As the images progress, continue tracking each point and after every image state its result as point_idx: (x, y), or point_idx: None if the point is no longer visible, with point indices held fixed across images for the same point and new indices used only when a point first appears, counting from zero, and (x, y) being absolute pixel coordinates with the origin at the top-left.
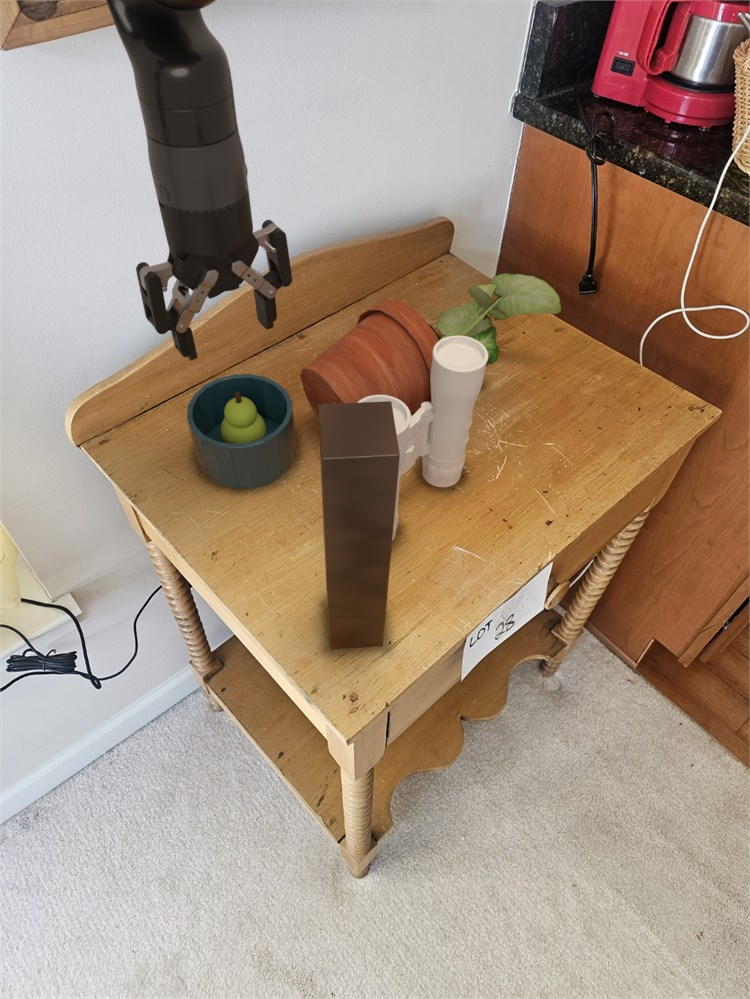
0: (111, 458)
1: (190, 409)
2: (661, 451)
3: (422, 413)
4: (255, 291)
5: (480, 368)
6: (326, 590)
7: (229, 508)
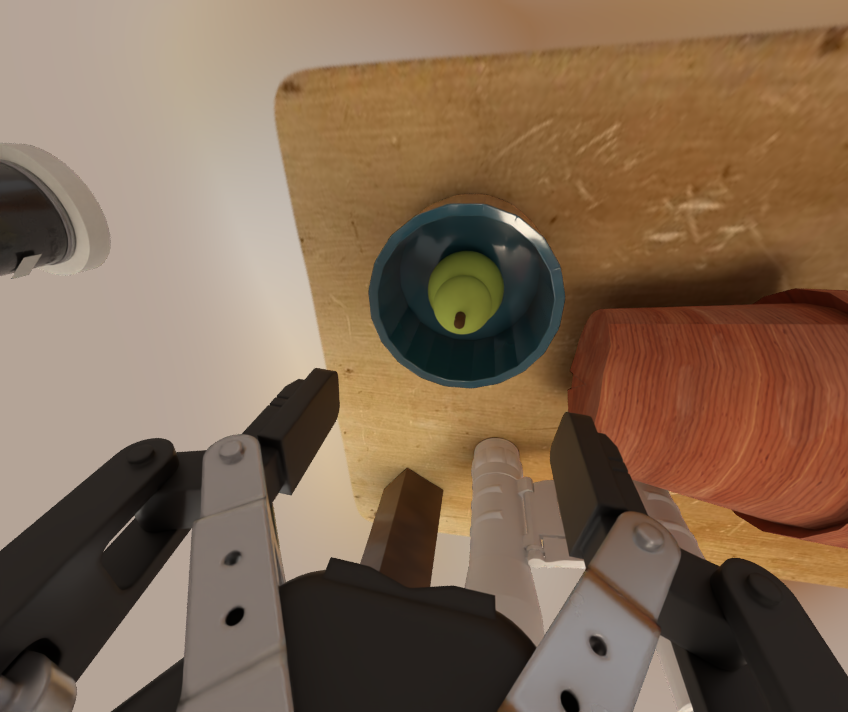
0: (291, 140)
1: (390, 248)
2: (812, 580)
3: None
4: (593, 514)
5: None
6: (394, 501)
7: None
